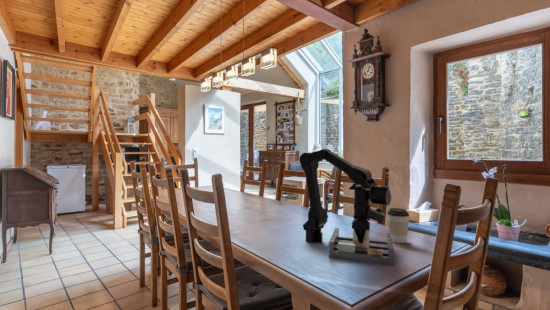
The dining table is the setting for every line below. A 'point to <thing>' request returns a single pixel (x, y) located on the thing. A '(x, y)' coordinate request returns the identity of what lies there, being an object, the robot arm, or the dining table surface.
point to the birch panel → (365, 240)
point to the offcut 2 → (375, 251)
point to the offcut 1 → (346, 247)
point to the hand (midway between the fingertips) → (361, 242)
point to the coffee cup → (398, 224)
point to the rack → (362, 250)
